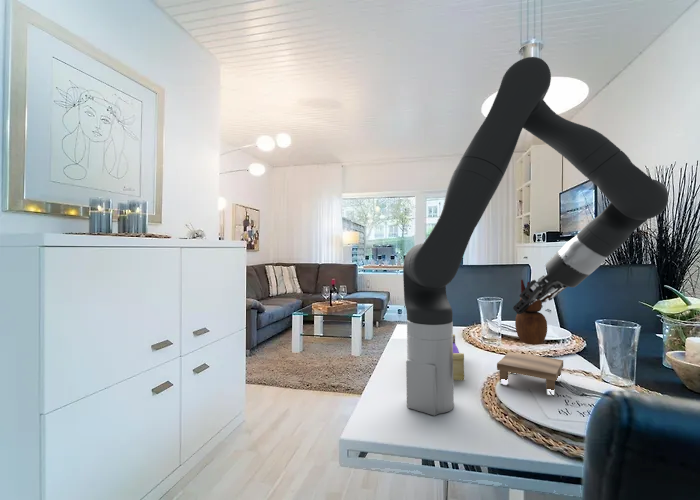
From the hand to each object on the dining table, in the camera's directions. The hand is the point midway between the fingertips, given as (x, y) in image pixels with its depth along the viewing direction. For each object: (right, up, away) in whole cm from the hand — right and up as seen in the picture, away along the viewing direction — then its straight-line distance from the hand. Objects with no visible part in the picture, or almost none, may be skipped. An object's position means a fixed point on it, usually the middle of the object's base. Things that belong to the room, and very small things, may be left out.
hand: (522, 309), depth 83 cm
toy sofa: (-16, -18, +11) cm, 26 cm away
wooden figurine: (+1, -8, -2) cm, 8 cm away
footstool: (+1, -17, -2) cm, 17 cm away
